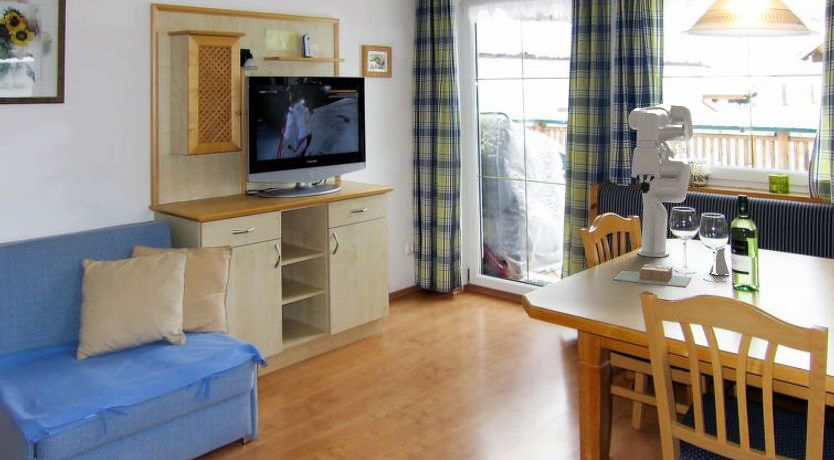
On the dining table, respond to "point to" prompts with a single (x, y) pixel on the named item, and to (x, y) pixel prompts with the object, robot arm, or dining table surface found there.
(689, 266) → the dining table surface
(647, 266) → the walnut slab
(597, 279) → the dining table surface
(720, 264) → the flask
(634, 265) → the dining table surface
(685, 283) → the sage mat
